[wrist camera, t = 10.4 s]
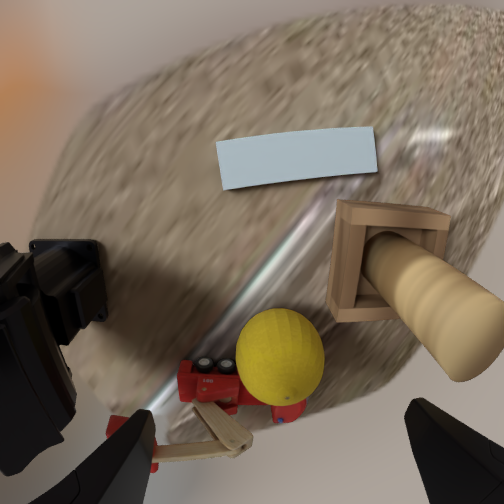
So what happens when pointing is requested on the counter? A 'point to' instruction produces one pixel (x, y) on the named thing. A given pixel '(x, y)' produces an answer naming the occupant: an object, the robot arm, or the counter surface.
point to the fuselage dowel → (436, 304)
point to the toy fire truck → (213, 412)
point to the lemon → (280, 357)
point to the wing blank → (296, 156)
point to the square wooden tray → (351, 249)
